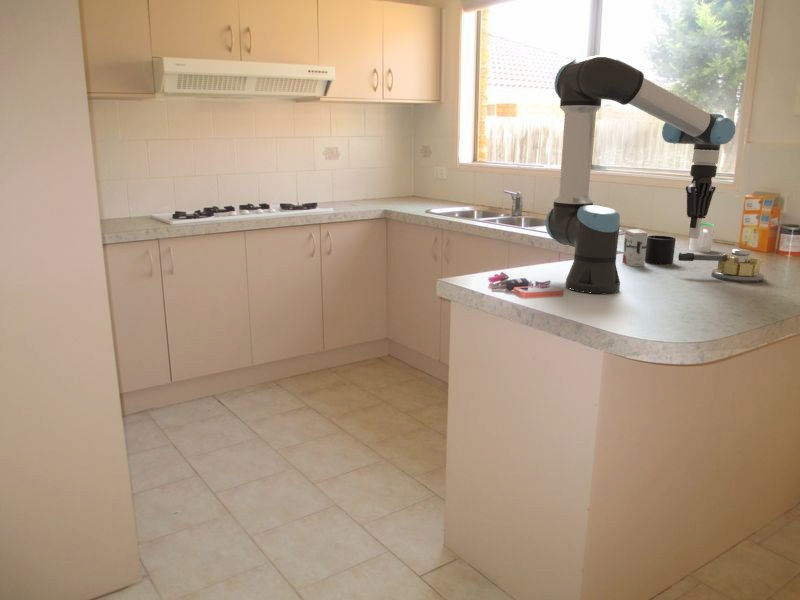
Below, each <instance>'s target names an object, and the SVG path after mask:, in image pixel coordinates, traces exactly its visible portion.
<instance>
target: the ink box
mask: <svg viewBox="0 0 800 600" xmlns="http://www.w3.org/2000/svg"><path fill="white" fill-rule="evenodd" d="M647 237H648V232H647V231H645V230H642V229H639V228H638V229H636V228H635V229H625V230H624V241H623V242H624V243H623V252H622V253H623V255H622V263H624V264H626V265H627V266H629V267H645V265H646V262H645V255H646V244H647Z"/></svg>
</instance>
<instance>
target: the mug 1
mask: <svg viewBox="0 0 800 600" xmlns="http://www.w3.org/2000/svg"><path fill="white" fill-rule="evenodd" d="M676 239H677V238H676V237H674V236H670V235H669V236H668V235H649V236H648V235H647V244H646V255H645V263H648V264H650V265H651V264H652V265H659V266H667V265H672V264H673V263H674V255H675V248H676Z"/></svg>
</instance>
